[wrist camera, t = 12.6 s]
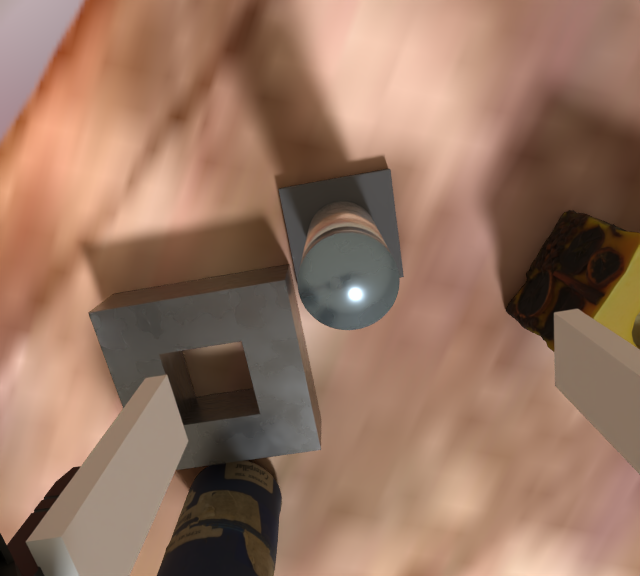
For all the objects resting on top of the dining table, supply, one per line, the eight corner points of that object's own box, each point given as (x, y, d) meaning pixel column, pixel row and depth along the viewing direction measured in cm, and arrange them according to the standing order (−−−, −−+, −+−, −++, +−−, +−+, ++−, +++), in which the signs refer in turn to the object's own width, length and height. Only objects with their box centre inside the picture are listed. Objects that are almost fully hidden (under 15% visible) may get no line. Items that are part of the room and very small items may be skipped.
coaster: (300, 290, 40) (299, 294, 39) (279, 188, 37) (278, 189, 36) (401, 273, 39) (403, 276, 38) (388, 168, 36) (390, 169, 35)
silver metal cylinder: (314, 272, 38) (307, 336, 26) (302, 207, 36) (288, 242, 24) (380, 262, 38) (404, 322, 25) (371, 195, 36) (392, 225, 24)
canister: (201, 442, 45) (126, 628, 28) (293, 462, 46) (274, 656, 29) (186, 514, 48) (109, 722, 31) (272, 532, 49) (244, 746, 32)
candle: (502, 310, 40) (556, 364, 31) (563, 206, 37) (643, 229, 28) (599, 349, 41) (680, 413, 32) (666, 251, 38) (777, 288, 29)
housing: (164, 442, 45) (147, 474, 41) (113, 294, 40) (88, 312, 36) (321, 419, 44) (320, 449, 40) (289, 264, 39) (284, 279, 35)
